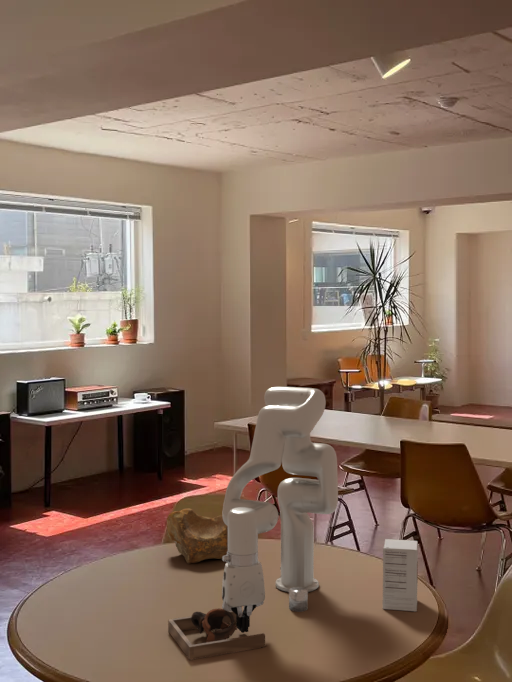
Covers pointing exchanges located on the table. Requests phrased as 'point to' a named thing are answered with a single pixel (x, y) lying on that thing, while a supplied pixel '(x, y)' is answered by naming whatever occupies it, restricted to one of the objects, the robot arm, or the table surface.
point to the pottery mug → (214, 624)
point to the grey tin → (298, 599)
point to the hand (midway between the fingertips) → (243, 630)
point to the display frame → (211, 647)
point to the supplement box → (400, 574)
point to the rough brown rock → (198, 535)
